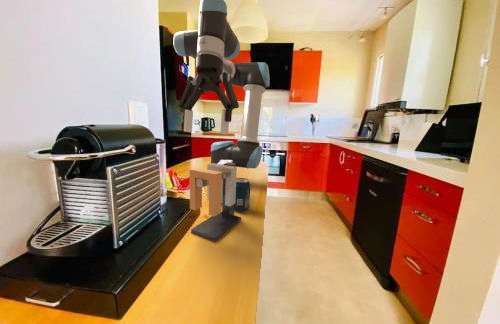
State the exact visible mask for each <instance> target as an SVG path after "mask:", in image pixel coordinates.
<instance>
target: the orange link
mask: <svg viewBox="0 0 500 324" xmlns="http://www.w3.org/2000/svg"><path fill="white" fill-rule="evenodd" d="M198 178H200V179H205V180H209V201H208V215H209V216H210V217H211V216H214V217H215V216H216V215H218V214H219V213H221V212H222V205H221V191H222V172H218V171H213V170H208V169H207V168H203V167H201V168H200V167H193V168H189V209H190V210H193V211H197V210H199V209H200V208H202V207H203V187H199V186H197V179H198Z"/></svg>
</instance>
